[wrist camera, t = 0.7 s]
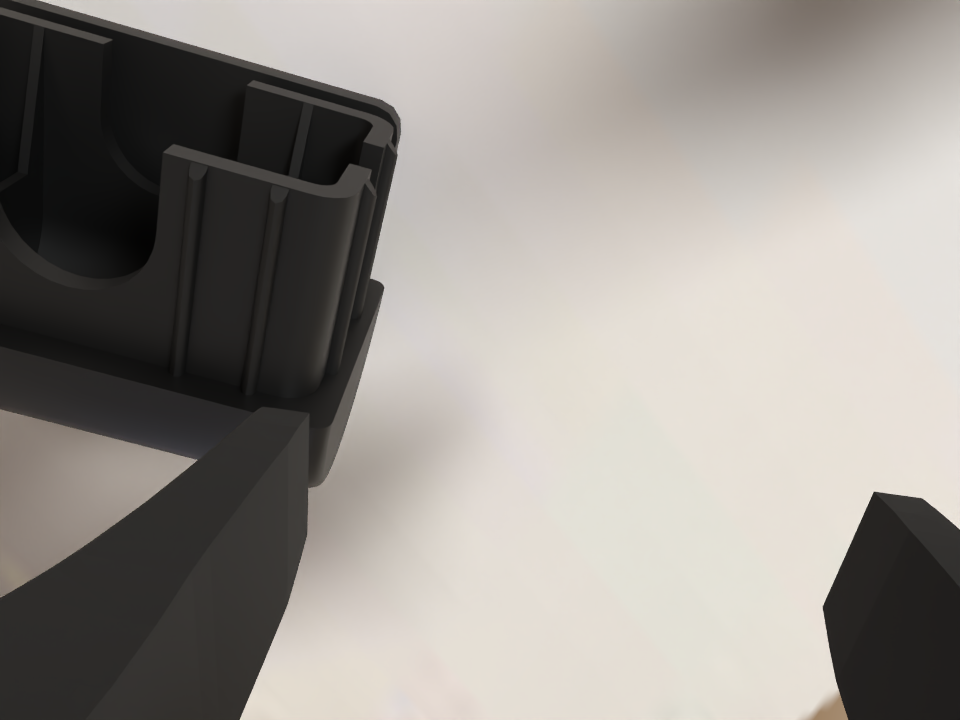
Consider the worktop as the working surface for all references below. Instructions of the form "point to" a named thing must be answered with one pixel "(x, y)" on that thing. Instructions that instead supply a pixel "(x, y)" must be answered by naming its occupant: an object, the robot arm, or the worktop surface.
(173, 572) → the robot arm
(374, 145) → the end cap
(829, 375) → the worktop surface
